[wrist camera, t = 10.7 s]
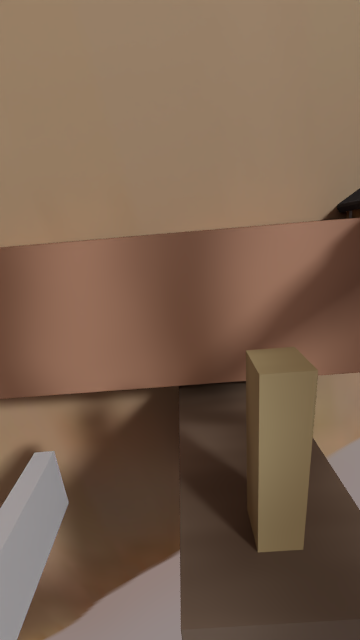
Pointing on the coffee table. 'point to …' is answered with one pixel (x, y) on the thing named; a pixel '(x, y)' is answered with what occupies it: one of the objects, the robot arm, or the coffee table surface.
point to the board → (177, 307)
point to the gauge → (263, 511)
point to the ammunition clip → (351, 205)
